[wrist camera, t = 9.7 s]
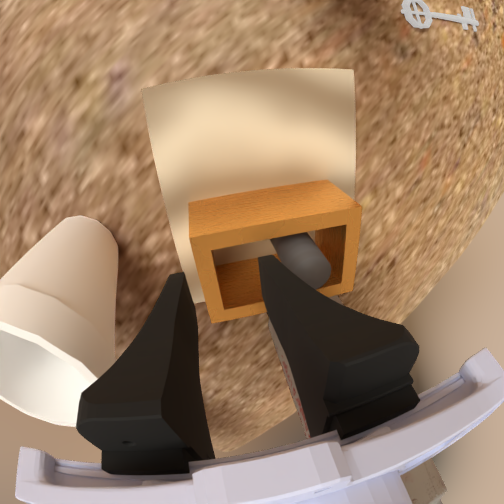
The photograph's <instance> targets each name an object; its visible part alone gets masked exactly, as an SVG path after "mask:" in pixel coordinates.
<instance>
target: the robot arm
mask: <svg viewBox="0 0 504 504" xmlns="http://www.w3.org/2000/svg"><path fill="white" fill-rule="evenodd" d="M258 264H259V273H260V282H261V291H262V297H263V300H264V304H265V307H266V310H267V314H268V316H269V319H270V321H271V323H272V325H273V328H274V330H275V332H276V335H277V337H278V339H279V341H280V344H281V346H282V348H283V350H284V353H285V355H286V358H287V360H288V363H289V366H290V369H291V372H292V375H293V379H294V382H295V385H296V388H297V392H298V395H299V398H300V402H301V405H302V409H303V412H304V415H305V419H306V423H307V426H308V430H309V434H310V437H311V438H309V439H306V440H302V441H299V442H295V443H291V444H288V445H284V446H280V447H275V448H272V449H267V450H263V451H258V452H253V453H248V454H242V455H236V456H231V457H224V458H218V459H215V455H214V451H213V447H212V443H211V438H210V434H209V429H208V424H207V419H206V414H205V409H204V403H203V398H202V391H201V385H200V376H199V351H198V325H197V317H196V310H195V306H194V302H193V299H192V296H191V293H190V289H189V286H188V283H187V279H186V276H185V273H184V272H181V273H176V274H171V275H170V276H169V277H168V279H167V281H166V284H165V286H164V288H163V290H162V292H161V294H160V296H159V298H158V300H157V302H156V304H155V306H154V308H153V310H152V312H151V314H150V315H149V317H148V319H147V320H146V322H145V324H144V325H143V327H142V329H141V330H140V332H139V333H138V335H137V336H136V337H135V339H134V340H133V342H132V343H131V344H130V346H129V347H128V348H127V349H126V350H125V351H124V353H123V354H122V355H121V356H120V357H119V359H118V360H117V361H116V362H115V363H114V364H113V365H112V366H111V367H110V368H109V369H108V370H107V371H106V372H105V373H104V374H103V375H102V376H101V377H100V378H98V379H97V380H96V381H95V382H94V383H92V384H91V385H90V386H89V387H88V388H86V389H85V390H84V391H83V392H81V396H80V400H79V406H78V414H77V422H76V429H77V430H78V432H79V433H80V434H81V435H82V436H83V437H84V438H85V439H87V440H88V441H89V442H91V443H92V444H93V445H95V446H96V447H98V448H99V449H101V450H102V462H101V463H89V462H79V461H70V460H62V459H56V458H54V457H53V456H52V455H50V454H48V453H47V452H45V451H42V450H39V449H34V448H28V447H24V446H21V447H20V453H19V461H18V469H17V479H16V493H15V497H16V498H17V499H19V500H21V501H23V502H26V503H28V504H412V501H411V499H410V497H409V495H408V492H407V490H406V488H405V486H404V483H403V481H402V479H401V477H400V475H402V474H404V473H406V472H408V471H410V470H411V469H413V468H415V467H417V466H418V465H420V464H422V463H423V462H425V461H427V460H428V459H430V458H432V457H433V456H435V455H436V454H438V453H439V452H441V451H442V450H444V449H445V448H447V447H448V446H450V445H451V444H453V443H454V442H456V441H457V440H458V439H460V438H461V437H463V436H464V435H465V434H467V433H468V432H469V431H470V430H472V429H473V428H475V427H476V426H477V425H478V424H480V423H481V422H482V421H484V420H485V419H486V418H487V417H488V416H489V415H490V414H491V413H492V412H493V411H494V410H496V409H497V408H498V407H499V405H501V404H502V403H503V402H504V370H503V369H502V367H501V366H500V365H499V363H498V362H497V361H496V359H495V358H494V357H493V355H492V354H491V353H490V352H489V350H488V349H487V348H483V349H482V350H480V351H479V352H478V353H476V354H474V355H473V356H471V357H470V358H469V359H468V360H466V361H465V363H464V364H463V365H462V367H461V368H460V370H459V372H458V373H456V374H454V375H453V376H451V377H449V378H448V379H446V380H444V381H442V382H441V383H439V384H437V385H435V386H434V387H432V388H430V389H428V390H426V391H424V392H423V393H421V394H419V395H417V394H416V392H415V390H414V389H413V387H412V385H411V384H412V383H413V379H412V377H411V376H410V374H409V372H410V370H411V369H412V367H413V365H414V363H415V361H416V359H417V356H418V354H419V345H418V344H417V343H416V341H415V340H414V338H413V337H412V335H411V334H410V333H409V331H408V330H407V329H406V328H405V327H404V326H403V325H400V324H396V323H392V322H388V321H384V320H380V319H377V318H374V317H371V316H368V315H365V314H362V313H360V312H357V311H355V310H353V309H350V308H348V307H346V306H344V305H342V304H340V303H337V302H336V301H334V300H332V299H330V298H328V297H327V296H325V295H323V294H321V293H320V292H318V291H317V290H315V289H314V288H313V287H311V286H310V285H308V284H307V283H306V282H304V281H303V280H302V279H300V278H299V277H298V276H297V275H295V274H294V273H293V272H292V271H290V270H289V269H288V268H287V267H286V266H285V265H284V264H282V263H281V262H280V261H279V260H278V259H277V258H276V257H275V256H274V255H267V256H262V257H258Z"/></svg>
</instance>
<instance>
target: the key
mask: <svg viewBox="0 0 504 504" xmlns="http://www.w3.org/2000/svg"><path fill="white" fill-rule="evenodd" d="M411 2H412V4H413V7H414V10H415V11H411V8H410V4H411ZM415 2H417V3H418V4H419V5H420V6H421V7H422V8H423V11H424V12H418V10H417V6H416V3H415ZM401 5H402V8H403V9H402V10H401V13H402V14H404V15H405V18H406V20H407V21H408V22H409V23H410V24H411V25H412V26H413V27H416V28H420V29H422V28H429V27H430V25H431V23H432V17H434V18H440V19H445V20H450V21H455V22H460V23H462V27H463V29H465V30H468V27H467V24H472V25H473V29H474V31H475V32H476V31H477V30H476V26H478V25H479V23H478V21H477V20H476V19H475V16H474V12H473V9H471V8H470V10H469V8H467V7H464V6H461V9H462V11H463V16H464V17H461V14H457V15H458V16H456V15H449V14H443V13H436V12H430V10H429V7H428V6H427V5H426V4H425V3H424V2H423V1H422V0H404V1H403V3H402V4H401ZM470 11H471V14H472V17H471V14H470ZM412 14H416V17H417V21H418V22H417V21H416V20H415V19H414V18H413V15H412ZM419 15H425V18H426V20H425V22H424V24H422V23H421V20H420V16H419ZM475 25H476V26H475Z"/></svg>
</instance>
